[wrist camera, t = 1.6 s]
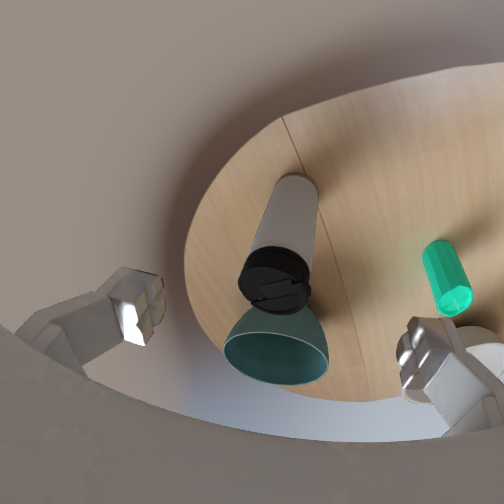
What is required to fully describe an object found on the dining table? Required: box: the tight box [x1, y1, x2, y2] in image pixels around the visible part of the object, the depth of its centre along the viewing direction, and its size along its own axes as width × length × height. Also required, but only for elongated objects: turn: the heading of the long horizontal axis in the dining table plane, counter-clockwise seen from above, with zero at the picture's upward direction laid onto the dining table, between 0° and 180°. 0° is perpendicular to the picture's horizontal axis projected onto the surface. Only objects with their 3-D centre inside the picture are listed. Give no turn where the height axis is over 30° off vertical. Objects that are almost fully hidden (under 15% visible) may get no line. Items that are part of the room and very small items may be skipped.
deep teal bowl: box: [223, 305, 329, 386], centre depth 49 cm, size 18×18×12 cm
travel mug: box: [238, 173, 318, 316], centre depth 31 cm, size 6×7×20 cm
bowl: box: [402, 326, 504, 405], centre depth 46 cm, size 27×27×10 cm
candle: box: [422, 240, 473, 317], centre depth 34 cm, size 6×6×12 cm
